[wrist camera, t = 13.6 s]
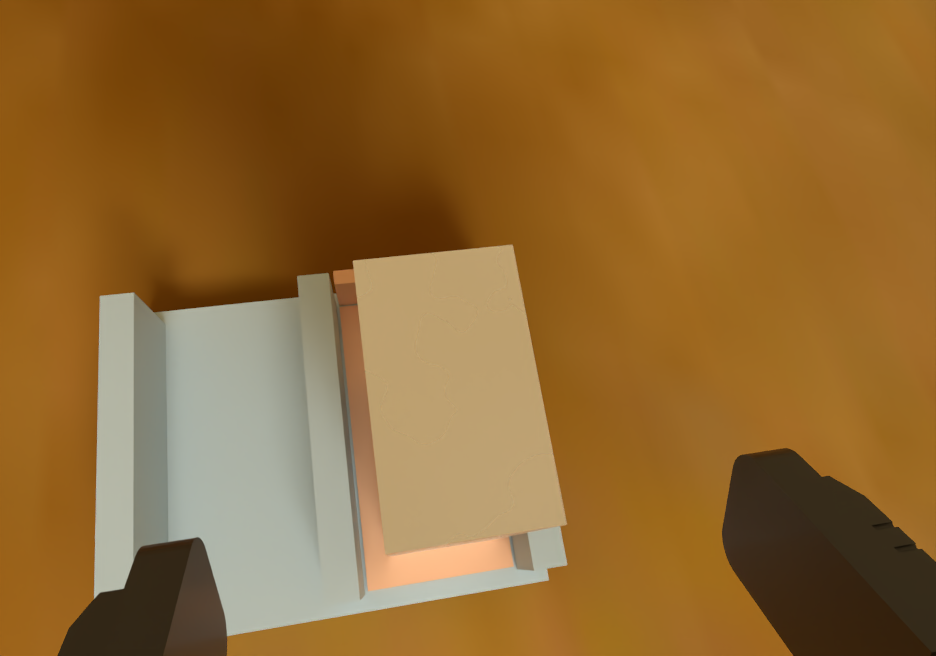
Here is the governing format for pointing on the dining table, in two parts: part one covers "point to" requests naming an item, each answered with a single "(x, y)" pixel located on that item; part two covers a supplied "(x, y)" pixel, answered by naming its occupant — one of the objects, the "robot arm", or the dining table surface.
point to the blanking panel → (454, 400)
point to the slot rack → (265, 462)
